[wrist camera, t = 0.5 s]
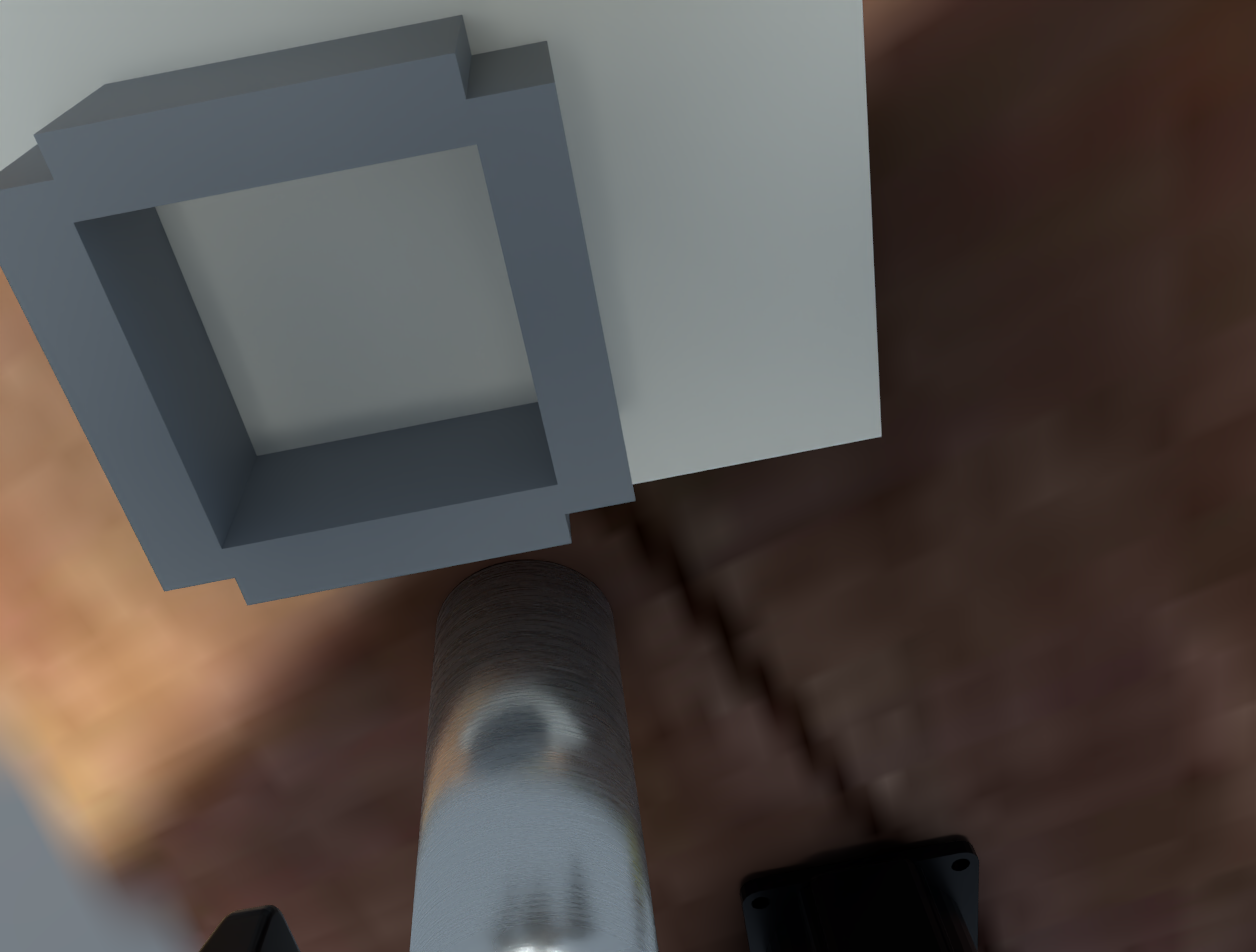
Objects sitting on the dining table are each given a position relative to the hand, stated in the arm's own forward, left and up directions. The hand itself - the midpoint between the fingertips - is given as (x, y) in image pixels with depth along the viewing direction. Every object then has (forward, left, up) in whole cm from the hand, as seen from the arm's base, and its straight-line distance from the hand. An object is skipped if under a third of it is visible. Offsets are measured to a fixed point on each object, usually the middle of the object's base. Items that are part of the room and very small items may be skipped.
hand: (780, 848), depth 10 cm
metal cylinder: (-7, +4, -13) cm, 15 cm away
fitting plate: (+5, +3, -13) cm, 14 cm away
